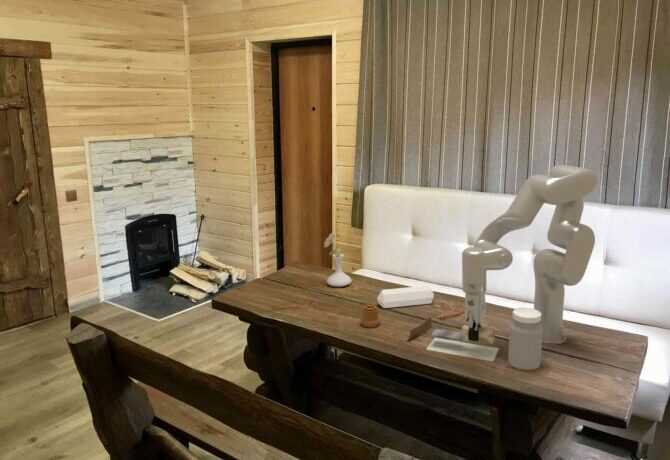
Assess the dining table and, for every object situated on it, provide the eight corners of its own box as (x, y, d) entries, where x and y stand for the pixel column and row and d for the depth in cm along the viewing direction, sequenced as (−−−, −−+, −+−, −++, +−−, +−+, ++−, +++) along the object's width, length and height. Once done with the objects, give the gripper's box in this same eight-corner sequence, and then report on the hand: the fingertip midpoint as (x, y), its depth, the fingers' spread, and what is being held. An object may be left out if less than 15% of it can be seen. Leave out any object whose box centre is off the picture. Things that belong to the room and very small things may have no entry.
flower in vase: (340, 278, 263) (339, 227, 257) (356, 284, 254) (355, 231, 248) (318, 285, 255) (316, 232, 249) (334, 291, 246) (333, 236, 240)
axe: (449, 325, 208) (449, 320, 208) (437, 320, 213) (437, 316, 213) (491, 311, 220) (491, 307, 219) (479, 307, 225) (479, 303, 225)
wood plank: (428, 328, 205) (428, 315, 204) (433, 329, 204) (433, 317, 203) (405, 343, 194) (405, 330, 193) (410, 345, 193) (410, 331, 191)
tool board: (499, 351, 186) (499, 348, 186) (493, 364, 177) (493, 361, 177) (434, 340, 195) (434, 337, 195) (426, 352, 187) (426, 349, 187)
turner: (494, 338, 184) (494, 327, 183) (491, 345, 179) (491, 333, 178) (435, 330, 193) (435, 320, 192) (431, 337, 188) (431, 326, 187)
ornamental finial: (371, 330, 205) (356, 324, 210) (384, 324, 210) (369, 318, 216) (371, 309, 203) (356, 304, 209) (384, 304, 208) (369, 299, 214)
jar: (545, 364, 176) (549, 311, 172) (532, 376, 169) (536, 321, 165) (515, 355, 183) (518, 303, 178) (502, 366, 176) (504, 313, 171)
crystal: (381, 302, 221) (438, 296, 226) (377, 288, 226) (433, 283, 231) (378, 314, 226) (435, 308, 231) (374, 300, 231) (429, 295, 236)
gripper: (480, 296, 171) (480, 351, 175) (491, 278, 185) (491, 329, 189) (456, 293, 174) (457, 347, 179) (468, 276, 188) (469, 326, 193)
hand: (474, 337), depth 184 cm, fingers closed on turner, 3 cm apart
